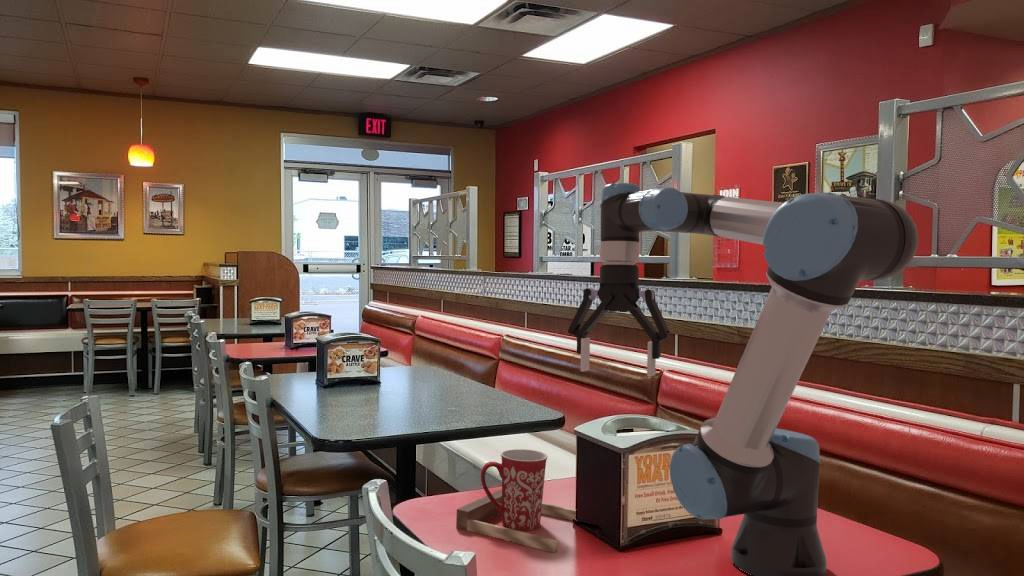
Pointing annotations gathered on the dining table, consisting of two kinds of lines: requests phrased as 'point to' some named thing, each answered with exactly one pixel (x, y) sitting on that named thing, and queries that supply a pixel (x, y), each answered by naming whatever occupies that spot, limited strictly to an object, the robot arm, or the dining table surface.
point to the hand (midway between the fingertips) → (617, 373)
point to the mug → (519, 487)
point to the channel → (483, 509)
